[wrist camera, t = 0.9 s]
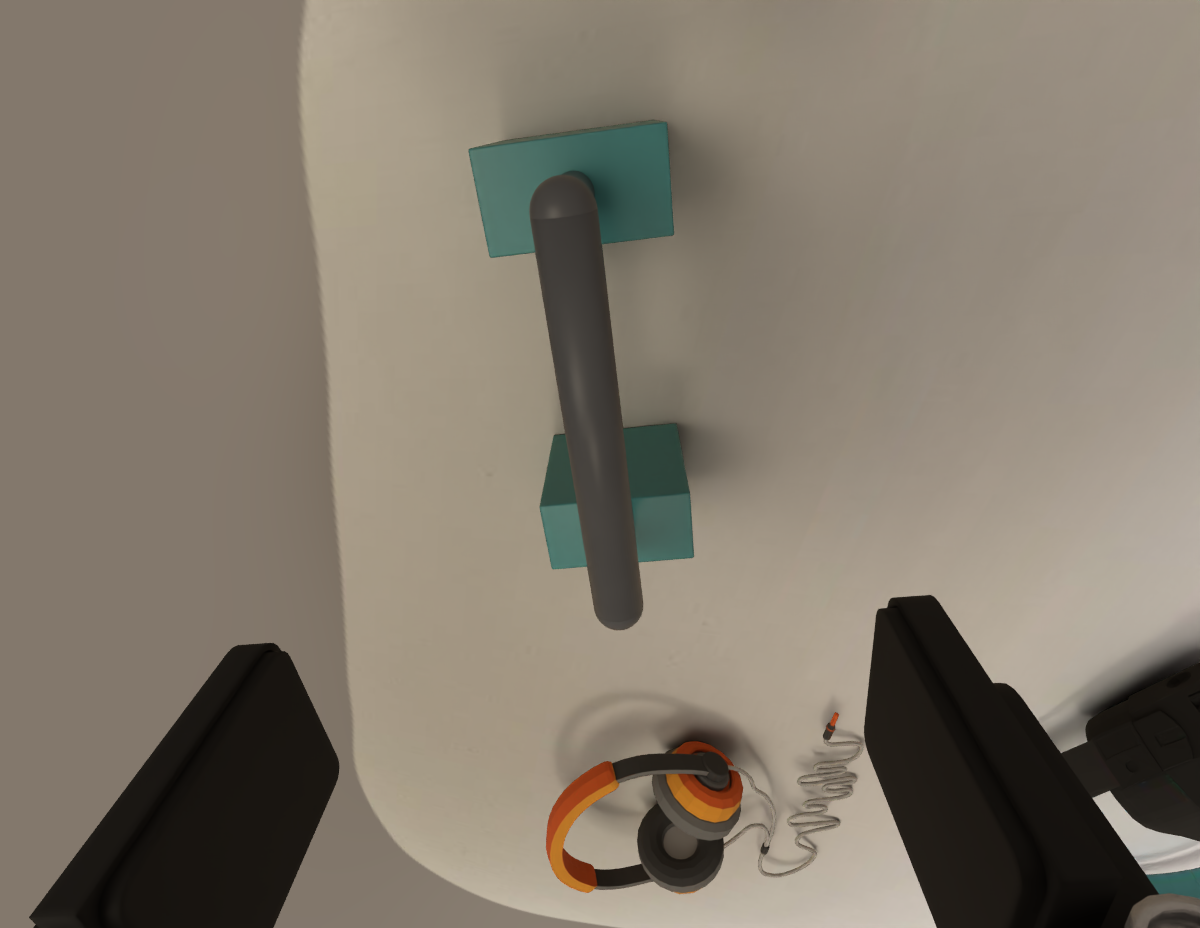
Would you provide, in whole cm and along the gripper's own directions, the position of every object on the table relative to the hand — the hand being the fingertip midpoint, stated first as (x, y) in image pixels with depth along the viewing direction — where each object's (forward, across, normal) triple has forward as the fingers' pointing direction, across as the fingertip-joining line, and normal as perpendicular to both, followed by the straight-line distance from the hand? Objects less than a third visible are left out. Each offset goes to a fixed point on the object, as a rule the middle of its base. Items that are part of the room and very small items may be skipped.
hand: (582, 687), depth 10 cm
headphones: (+19, -3, +30) cm, 35 cm away
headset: (+19, 0, 0) cm, 19 cm away
